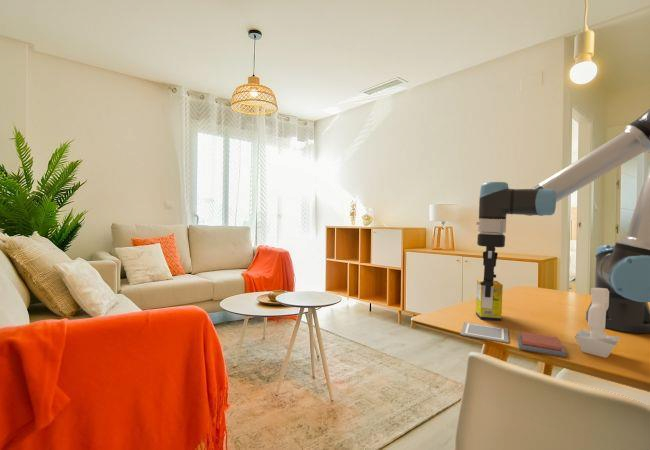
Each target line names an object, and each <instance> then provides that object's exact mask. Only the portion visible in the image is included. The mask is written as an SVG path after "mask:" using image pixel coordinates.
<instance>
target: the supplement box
mask: <svg viewBox="0 0 650 450" xmlns="http://www.w3.org/2000/svg"><path fill="white" fill-rule="evenodd" d="M483 281H484V279H477V280H476V300H475V302H476V305H475V315H477V317H478V318H479V319H480V320H487V321H489V320H490V321H498V322H499V321H502V313H503V312H502V308H503V284H502V283H500V281H498V280H494V281H493V282H494V285H493V303H492V309H489V308H482V293H483V285H481V282H483Z"/></svg>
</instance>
